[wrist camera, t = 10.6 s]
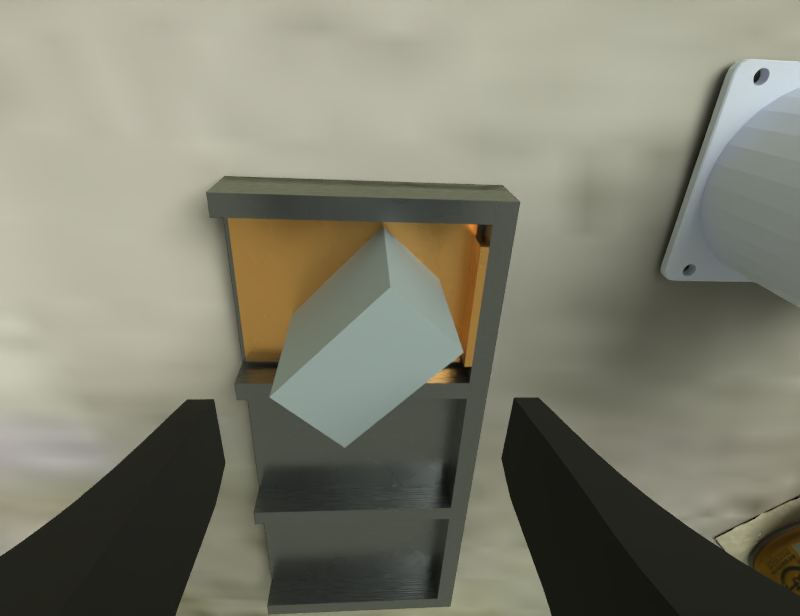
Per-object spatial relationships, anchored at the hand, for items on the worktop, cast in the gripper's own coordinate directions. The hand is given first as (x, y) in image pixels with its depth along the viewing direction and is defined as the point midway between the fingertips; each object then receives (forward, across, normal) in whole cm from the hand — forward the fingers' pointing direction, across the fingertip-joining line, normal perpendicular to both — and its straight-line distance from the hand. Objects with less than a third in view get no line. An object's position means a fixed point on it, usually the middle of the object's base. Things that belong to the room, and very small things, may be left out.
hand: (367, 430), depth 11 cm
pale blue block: (+7, 0, 0) cm, 7 cm away
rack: (+8, 0, +7) cm, 11 cm away
